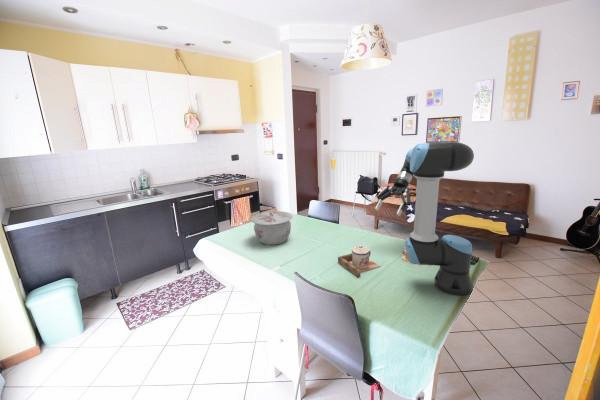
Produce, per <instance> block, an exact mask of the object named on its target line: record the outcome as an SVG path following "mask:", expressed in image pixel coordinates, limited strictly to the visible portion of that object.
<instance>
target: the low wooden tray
mask: <svg viewBox="0 0 600 400" xmlns="http://www.w3.org/2000/svg"><path fill="white" fill-rule="evenodd" d="M337 263H338V264H339V265H340V266H342V267H343V268H345V269H346V270H347V271H349V272H350V273H351V274H352V275H354V276H355V277H356V278H361V273H365V272H368V271H371V270H374V269H378V268H381V265H379V264H377V263H376V262H374V261H373V260H371V259H370V258H369V266H368V268H366V269H358V268H356V267H355V266H353V265H352V252H351V253H349V254H345V255H341V256H338V257H337Z"/></svg>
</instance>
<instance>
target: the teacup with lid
mask: <svg viewBox="0 0 600 400" xmlns="http://www.w3.org/2000/svg"><path fill="white" fill-rule="evenodd" d="M371 252H372V250H370V249H369V248H368V247H366V246H363V245H362V244H358V246H355V247H352V249H351V253H352V265H353V266H355V267H356V268H358V269H366V268H368V266H369V259H370V257H371V255H372V253H371Z"/></svg>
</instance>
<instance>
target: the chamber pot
mask: <svg viewBox="0 0 600 400" xmlns="http://www.w3.org/2000/svg"><path fill="white" fill-rule="evenodd" d="M292 219H293V215H292V214H291V213H289V212H286V211H277V210H271V211H270V210H269V211H265V212H260V213H257V214H255V215H253V216H252V217H251V218H250V221H251V223H253V224H254V225H253V231H254V234H255V236H256V239H258V240H259V242H260V243H262V244H264V245H268V246H271V245H272V246H273V245H274V246H276V245H280V244H282V243H284V242H285V241H287V239H288V238H289V236H290V234H291V229H292V222H291V220H292Z"/></svg>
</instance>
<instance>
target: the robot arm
mask: <svg viewBox="0 0 600 400" xmlns="http://www.w3.org/2000/svg"><path fill="white" fill-rule="evenodd" d="M474 156H475V153H474V151H473V149H472V147H470V146H469V145H468V144H466V143H462V142H457V141H456V142H455V141H454V142H453V141H452V142H424V143H417V144H415V146H414V147H413V148H410V149H409V150H408V151H407V153H406V155H405V158H404V162H403V165H402V167H401V169H400V171H399V172H398V174H397V176H396V179H395V181H394V183H393V185H392V186H390V185H387V186H386V188H384V190H382V191H381V192H380V193H378V195H376V199H377V202H376V206H375V208H374V209H375V211H376V212H378V211H379V210H380V208H381V206H382V205H383V203H384V202H383V201H384V200H386V199H387V198H388V199H389V198H390V197H392V196H398V197H399V196H400V198H401V201H402V203H401V204H400V206H399V208H398V210H397V212H396V215H397V216H398V217H401V214H402V212H403V211H405V209H406V208H407V206H409V207H410V206H411V205H412V204H411V203H412V202H411V201H412V200H411V192H412V191H411V189H410V188H409V185H410V182H411V181H412V180H413V177H414V178H415V179H416V190H415V191H416V192H415V193H416V194H415V207H414V222H413V231H411V232H410V234H409V237H407V238H405V250H406V255H407V260H408V262H409V263H410V264H412V265H419V266H439V269H438V271H437V272H436V274H435V276H434V281H433V282H434V286H435V287H436V288H437V289H438V290H441V292H444V293H447V294H449V295H453V296H465V295H469V294H470V293H472V291H473V284H472V279H471V276H470V270H471V269H470V268H471V262H472V255H473V245H472V243H471V241H470V240H468V239H466V238H465V237H462V236H458V235H454V234H445V235H443V236H442V237H441V238H439V236H438V235H437V234H436V227H437V226H436V223H437V212H438V202H439V190H440V189H439V188H440V180H442V179H443V178H444V177H445V173H446V172H456V171H457V172H458V171H461V170H464V169H465V168H468V167H469V166H470V165H471V164H472V163H473V161H474ZM405 193H406V198H405V195H404V194H405Z"/></svg>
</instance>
